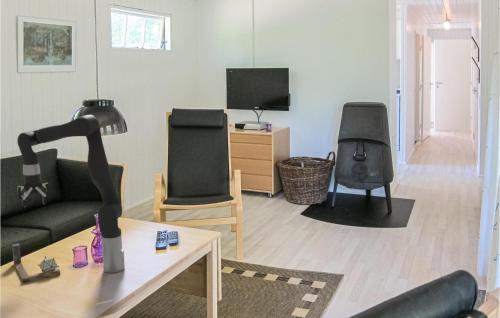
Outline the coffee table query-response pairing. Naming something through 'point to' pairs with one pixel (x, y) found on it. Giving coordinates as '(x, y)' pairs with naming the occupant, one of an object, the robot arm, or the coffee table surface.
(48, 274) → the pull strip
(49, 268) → the grey spiky ball
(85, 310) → the coffee table surface
